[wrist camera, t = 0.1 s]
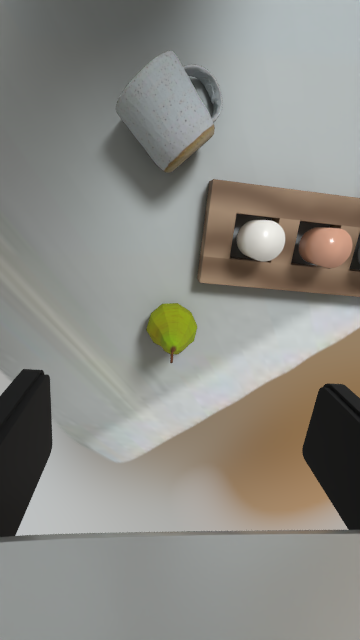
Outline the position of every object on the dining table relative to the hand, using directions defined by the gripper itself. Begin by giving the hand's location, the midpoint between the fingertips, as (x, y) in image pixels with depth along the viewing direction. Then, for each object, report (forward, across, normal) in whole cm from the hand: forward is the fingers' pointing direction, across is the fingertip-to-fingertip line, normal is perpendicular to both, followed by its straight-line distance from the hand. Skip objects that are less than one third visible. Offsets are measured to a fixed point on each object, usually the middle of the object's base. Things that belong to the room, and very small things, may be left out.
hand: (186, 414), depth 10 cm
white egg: (+29, -11, -5) cm, 31 cm away
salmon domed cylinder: (+29, -19, -5) cm, 35 cm away
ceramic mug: (+32, 0, -17) cm, 36 cm away
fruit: (+31, -2, +7) cm, 32 cm away
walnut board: (+31, -19, -5) cm, 37 cm away
